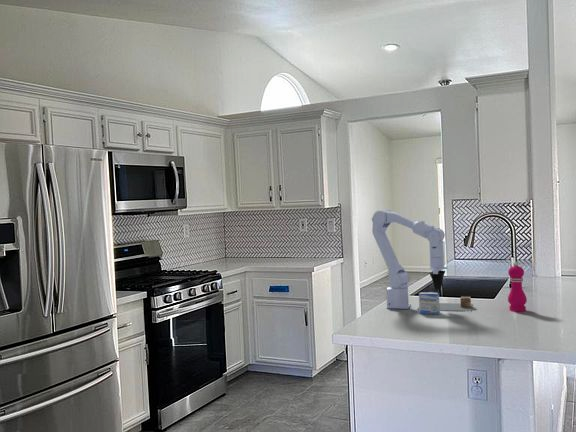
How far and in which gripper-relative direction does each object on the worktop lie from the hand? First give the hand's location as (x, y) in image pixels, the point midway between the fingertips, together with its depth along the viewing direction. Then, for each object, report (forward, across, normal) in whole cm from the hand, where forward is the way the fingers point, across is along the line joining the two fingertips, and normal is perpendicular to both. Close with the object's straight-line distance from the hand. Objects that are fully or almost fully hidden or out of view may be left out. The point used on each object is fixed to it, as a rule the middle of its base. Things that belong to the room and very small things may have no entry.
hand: (438, 288), depth 226 cm
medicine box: (+10, -6, +3) cm, 12 cm away
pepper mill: (+10, +6, -31) cm, 33 cm away
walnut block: (+9, +8, -10) cm, 16 cm away
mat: (+9, +7, -2) cm, 12 cm away
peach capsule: (+9, +12, +5) cm, 16 cm away
